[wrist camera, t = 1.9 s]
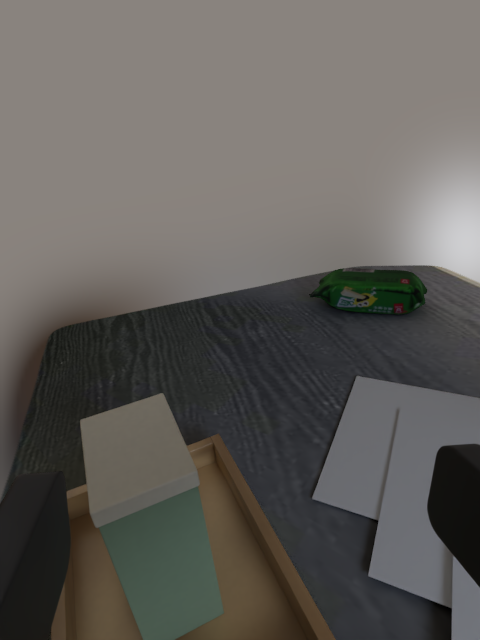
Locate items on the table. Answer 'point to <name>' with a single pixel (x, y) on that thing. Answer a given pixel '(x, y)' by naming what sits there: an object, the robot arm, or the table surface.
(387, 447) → the paper stack
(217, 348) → the table surface
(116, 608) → the desk tray
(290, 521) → the table surface
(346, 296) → the snack package
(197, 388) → the table surface
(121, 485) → the green lidded canister
